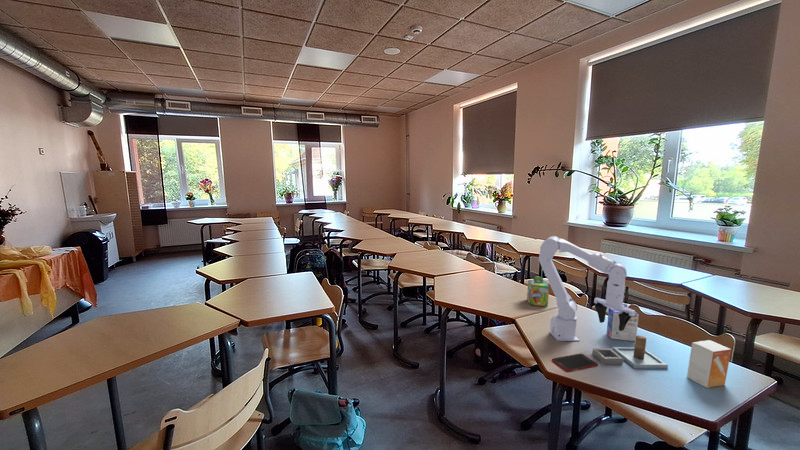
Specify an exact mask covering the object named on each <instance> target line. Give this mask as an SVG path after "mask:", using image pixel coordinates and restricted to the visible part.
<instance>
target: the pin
mask: <svg viewBox="0 0 800 450" xmlns="http://www.w3.org/2000/svg"><path fill="white" fill-rule="evenodd" d="M646 345H647V337H646V336H643V335H639V334H637V336H636V339H635V341H634V357H635V358H637V359H641V360H643V359H644V355H645V349H646Z"/></svg>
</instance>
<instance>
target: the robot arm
mask: <svg viewBox="0 0 800 450" xmlns="http://www.w3.org/2000/svg"><path fill="white" fill-rule="evenodd" d="M539 249H540V251H539V254H538V255H539V256H538V261H539V264H540V267H541V268H542V270H543V273H544V275H545V277H546V279H547V281H548V283H549V284H548V285H549V287H550V288H551V290H552V292H553V294H554V296H555V301H556V305H557V309H558V314H557V315H555V316H552V317H551V318H550V325H549V331H548V333H549V334H550V335H551V336H552V337H553V338H554V339H555V340H556V341H558V342H559V341H563V342H565V341H566V342H567V341H568V342H569V341H570V342H579V341H580V339H579V338H578V337H577V336H576V332H577V331H576V330H577V321H578V320H577V319H578V317H577V315H576V312H577V310H578V304H577V303H576V301H575V300H573V298H572V297H571V295H570V294H569V293H568V290H566V287H565V284H564V283H563V280H562V278H561V277H560V274H559V272H558V270H557V268H556V266H555V263H554V261H553V258H554V256H555V254H556V253H557V252H558V253H569V254H571V255H573V256H576V257H578V258H579V259H583V260H584V261H586V262H587V264H588V266H590V267H591V268H594V269H596V270H597V271H600V272H602V273H604V274H607V275H608V280H607V282H606V283H607V284H606V285H607V286H606V292H605V293H606V294H605V299H603V298H600V297H595V298H594V301H593V303H594V308H595V310H596V313H597V315H598V320H599V323H601V324H603V323H604V322H605V321H606V313H607V310H608V309H609V308H612V309H615V310H617V311H620V312H622V313H620V314H619V322H620V323H619V330H620V331H622V330H624V328H625V326H626V324H627V322H628V321H629V320H630V318H631V317H632V316H634V315H635V312H636V310H634V309H632V308H630V307H628V306H627V307H626V306H624V305H623V304H624V295H625V290H626V289H625V287H626V283H625V282H626V278H627V277H628V274H627V268H626V266H625V265H624V264H622V263H621V262H617V260H614V259H610V258H607V257H605V256H604V254H603V253H597V252H596V253H595V252H594V253H590V252H589V251H587V250H585V249H582V248H581V247H579V246H578V245H576V244H574V243H572V242H570V241H567V240H566V239H564V238H560V237H558V236H556V235H551V236H549V237H547V239H544V241H543V242H542V243H541V245H540V247H539Z"/></svg>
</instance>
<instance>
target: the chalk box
mask: <svg viewBox="0 0 800 450" xmlns="http://www.w3.org/2000/svg"><path fill="white" fill-rule="evenodd" d="M533 278H534V279H532V280H528V282H527V292H526V300H527V302H528V304H529V305H530V306H538V307H546V306H547V307H548V304H549V296H550V295H549V293H550V285H549V284H548V283H547V282H545V281H544V277H543V276H534V277H533Z"/></svg>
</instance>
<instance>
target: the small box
mask: <svg viewBox="0 0 800 450" xmlns="http://www.w3.org/2000/svg"><path fill="white" fill-rule="evenodd" d="M731 352H732V349H731V348H729V347H727V346H724V345H722V344H720V343H717V342H716V341H713V340H710V339H707V340H699V341H694V342H691V347H690V353H689V362H688V368H687V374H686V378H687V379H690V380H691V381H693V382H695V383H697V384H699V385H701V386H703V387H705V388H707V389H710V388H715V387H720V386H725V385H726V380H727V374H728V369H729V364H730V358H731Z"/></svg>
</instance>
